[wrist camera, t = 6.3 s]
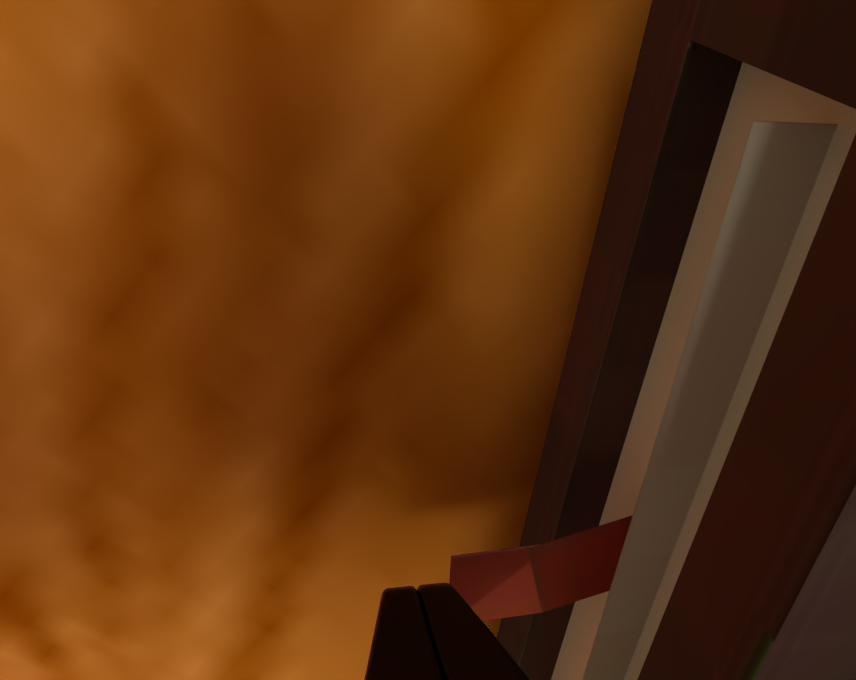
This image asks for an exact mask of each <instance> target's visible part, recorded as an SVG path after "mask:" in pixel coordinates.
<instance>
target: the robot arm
mask: <svg viewBox="0 0 856 680" xmlns="http://www.w3.org/2000/svg"><path fill="white" fill-rule="evenodd" d="M364 680H531V679H530V678H529V677H528V676H527V674H526V673H525V672H524V671H523V670H522V668H521V667H520V666H519V665H518V664H517V662H516V661H515V660H514V659H513V658H512V656H511V655H510V654H509V653H508V652H507V650H506V649H505V648H504V647H503V646H502V644H501V643H500V642H499V641H498V640H497V638H496V637H495V636H494V635H493V634H492V632H491V631H490V630H489V629H488V628H487V626H486V625H485V624H484V623H483V622H482V620H481V619H480V618H479V617H478V616H477V615H476V613H475V612H474V611H473V610H472V609H471V607H470V606H469V605H468V604H467V603H466V601H465V600H464V599H463V598H462V597H461V595H460V594H459V593H458V592H457V591H456V589H455V588H454V587H453V586H452V585H450V584H448V583H435V584H425V585H420V586H419V587H418V588H417V590H416V589H415V588H414V587H413V586H405V587H395V588H387V589H385V590H384V591H383V593H382V596H381V601H380V606H379V611H378V615H377V620H376V625H375V630H374V635H373V640H372V645H371V650H370V655H369V660H368V665H367V670H366V675H365V679H364Z"/></svg>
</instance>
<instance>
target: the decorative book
mask: <svg viewBox="0 0 856 680" xmlns="http://www.w3.org/2000/svg"><path fill="white" fill-rule="evenodd" d="M449 584H450V585H452V586H453V587H454V588H455V589H456V591H457V592H458V593H459V594H460V595H461V597H462V598H463V599H464V600H465V601H466V603H467V604H468V605H469V606H470V607H471V609H472V610H473V611H474V612H475V613H476V615H477V616H478V617H479V618H480V619H481V620H482V621H487V620H494V619H501V618H502V620H501V625H500V629H499V633H498V637H497V640H498V641H499V642H500V643H501V644H502V646H503V647H504V648H505V649H506V650H507V652H508V653H509V654H510V655H511V656H512V658H513V659H514V660H515V661H516V662H517V664H518V665H519V666H520V667H521V668H522V670H523V671H524V672H525V673H526V674H527V676H528V677H529V678H530V679H531V680H856V0H652V4H651V8H650V12H649V17H648V21H647V25H646V29H645V33H644V37H643V41H642V45H641V49H640V53H639V58H638V62H637V66H636V70H635V74H634V78H633V82H632V86H631V90H630V95H629V99H628V103H627V107H626V111H625V115H624V119H623V123H622V127H621V132H620V136H619V140H618V144H617V148H616V152H615V156H614V160H613V164H612V169H611V173H610V177H609V181H608V185H607V189H606V193H605V197H604V201H603V206H602V210H601V214H600V218H599V222H598V226H597V230H596V234H595V238H594V242H593V247H592V251H591V255H590V259H589V263H588V267H587V271H586V275H585V279H584V284H583V288H582V292H581V296H580V300H579V304H578V308H577V312H576V316H575V321H574V325H573V329H572V333H571V337H570V341H569V345H568V349H567V353H566V358H565V362H564V366H563V370H562V374H561V378H560V382H559V386H558V390H557V395H556V399H555V403H554V407H553V411H552V415H551V419H550V423H549V427H548V431H547V436H546V440H545V444H544V448H543V452H542V456H541V460H540V464H539V468H538V473H537V477H536V481H535V485H534V489H533V493H532V497H531V501H530V505H529V510H528V514H527V518H526V522H525V526H524V530H523V534H522V538H521V542H520V547H517V548H509V549H501V550H494V551H486V552H478V553H470V554H462V555H455V556H451V568H450V583H449Z"/></svg>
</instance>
